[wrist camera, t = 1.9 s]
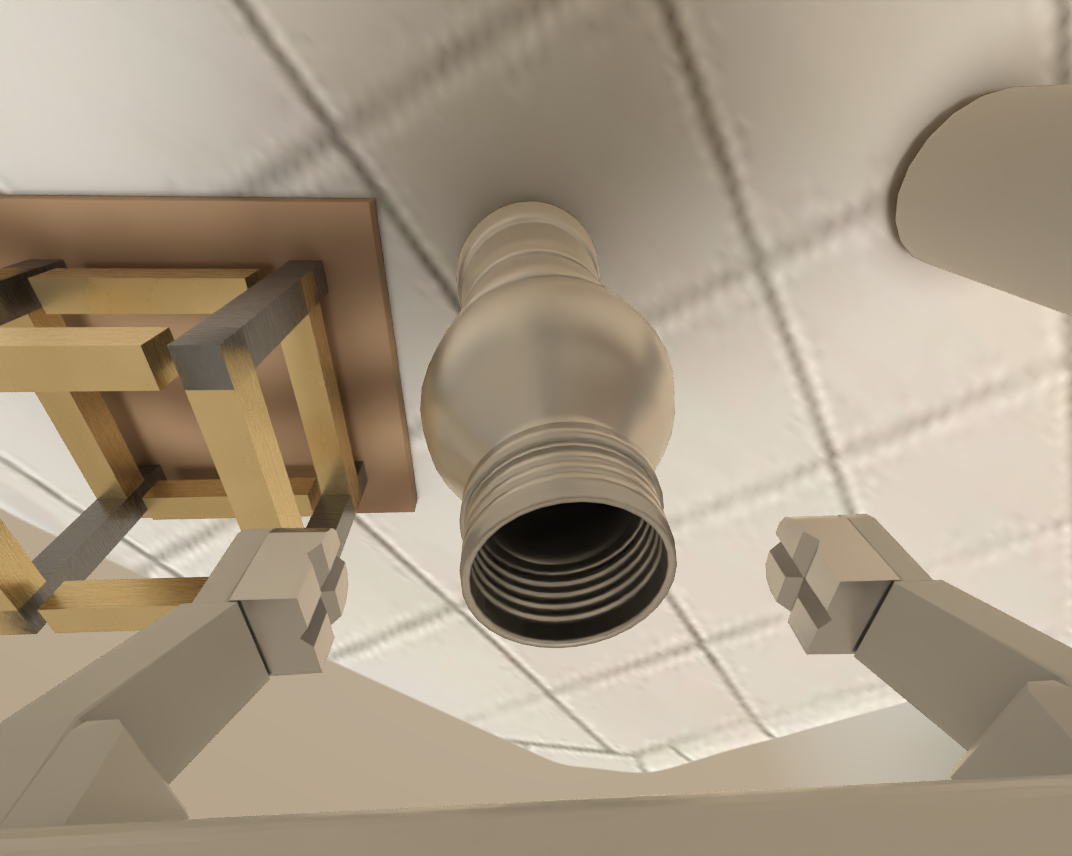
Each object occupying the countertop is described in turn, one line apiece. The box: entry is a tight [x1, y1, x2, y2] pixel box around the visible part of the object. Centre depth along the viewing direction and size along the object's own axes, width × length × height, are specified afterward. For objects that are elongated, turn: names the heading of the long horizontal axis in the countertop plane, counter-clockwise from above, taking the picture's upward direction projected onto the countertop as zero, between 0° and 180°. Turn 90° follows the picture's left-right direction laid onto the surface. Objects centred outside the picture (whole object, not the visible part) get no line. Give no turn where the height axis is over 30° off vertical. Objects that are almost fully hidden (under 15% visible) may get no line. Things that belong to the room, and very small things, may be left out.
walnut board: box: [0, 195, 417, 518], centre depth 27 cm, size 18×18×1 cm
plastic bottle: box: [420, 201, 677, 648], centre depth 17 cm, size 6×7×20 cm
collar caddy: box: [0, 259, 368, 635], centre depth 22 cm, size 13×13×10 cm
